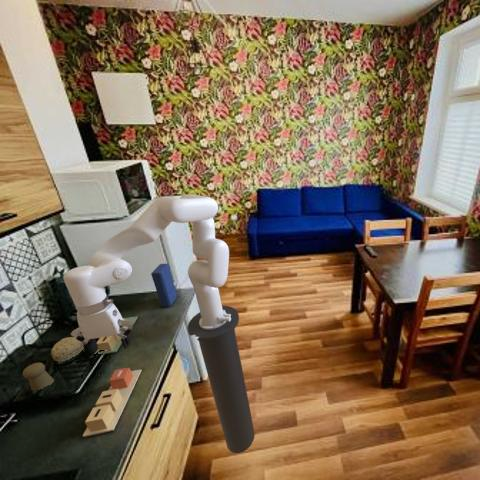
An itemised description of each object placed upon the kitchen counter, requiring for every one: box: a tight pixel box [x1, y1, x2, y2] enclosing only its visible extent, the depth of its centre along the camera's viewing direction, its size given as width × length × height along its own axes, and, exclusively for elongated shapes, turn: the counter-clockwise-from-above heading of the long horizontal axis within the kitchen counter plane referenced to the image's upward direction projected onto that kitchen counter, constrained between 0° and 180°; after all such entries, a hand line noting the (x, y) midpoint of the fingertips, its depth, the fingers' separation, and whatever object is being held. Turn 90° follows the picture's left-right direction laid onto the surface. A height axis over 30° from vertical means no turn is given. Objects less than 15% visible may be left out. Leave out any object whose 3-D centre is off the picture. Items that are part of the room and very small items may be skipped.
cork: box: [22, 362, 55, 391], centre depth 91 cm, size 6×6×11 cm
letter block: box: [109, 367, 133, 390], centre depth 93 cm, size 4×4×5 cm
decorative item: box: [50, 336, 85, 362], centre depth 105 cm, size 10×10×10 cm
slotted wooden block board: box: [82, 369, 143, 438], centre depth 88 cm, size 22×8×5 cm, turn 12°
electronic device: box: [150, 263, 179, 308], centre depth 135 cm, size 10×5×20 cm, turn 6°
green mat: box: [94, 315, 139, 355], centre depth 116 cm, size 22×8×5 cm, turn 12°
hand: (111, 347), depth 88 cm, fingers open, 9 cm apart
